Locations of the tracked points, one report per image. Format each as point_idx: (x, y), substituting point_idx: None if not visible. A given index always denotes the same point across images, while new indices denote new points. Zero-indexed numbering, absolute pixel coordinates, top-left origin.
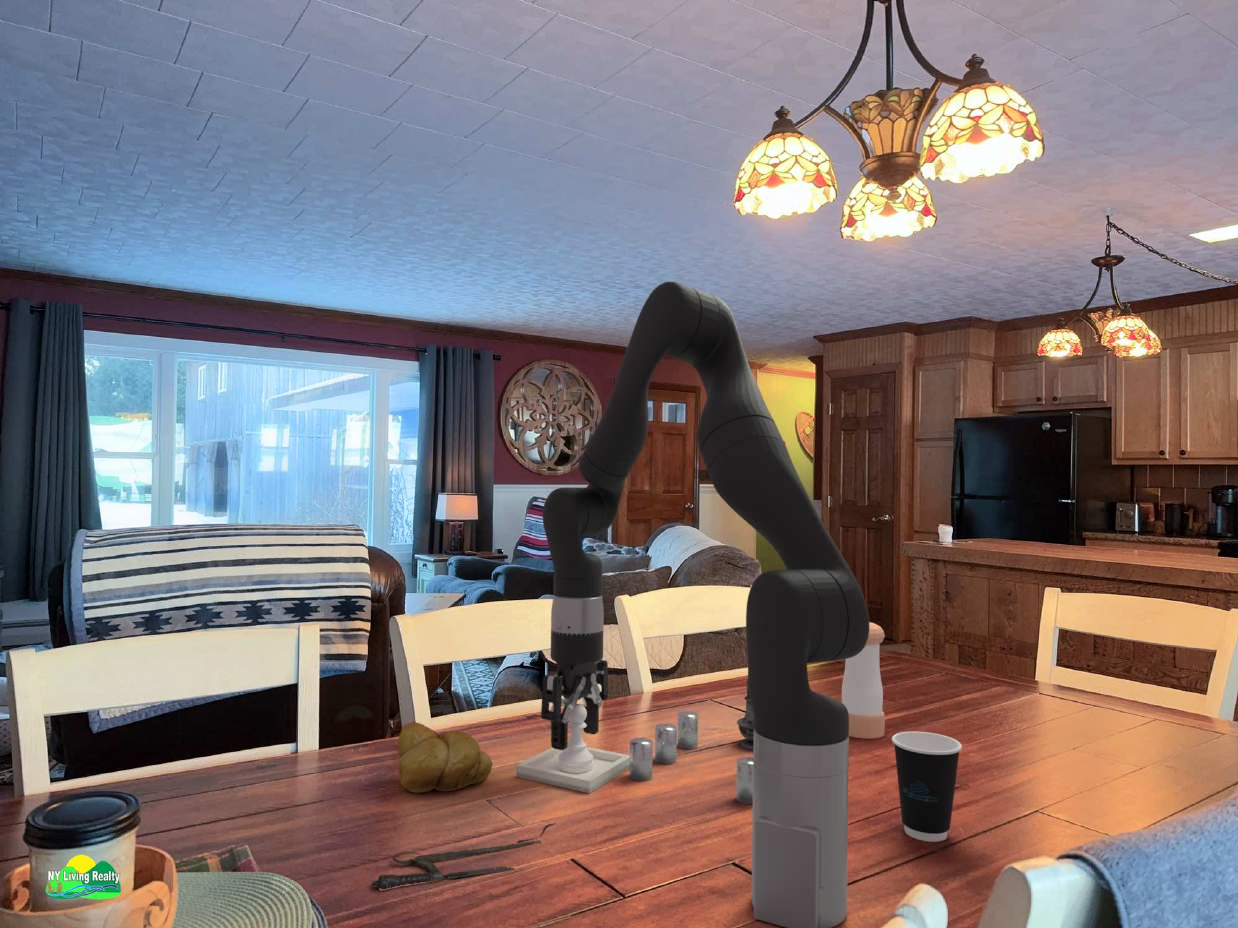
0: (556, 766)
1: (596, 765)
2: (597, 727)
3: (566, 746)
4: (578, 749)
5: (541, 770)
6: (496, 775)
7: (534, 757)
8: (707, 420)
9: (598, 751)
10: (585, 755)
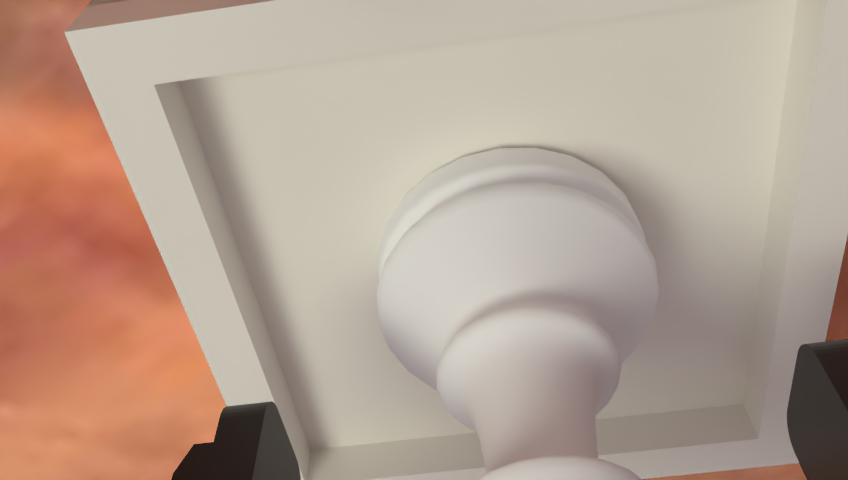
0: None
1: (367, 180)
2: (236, 440)
3: (834, 348)
4: (585, 313)
5: (827, 325)
6: (800, 471)
7: None
8: None
9: (228, 290)
10: (537, 243)
